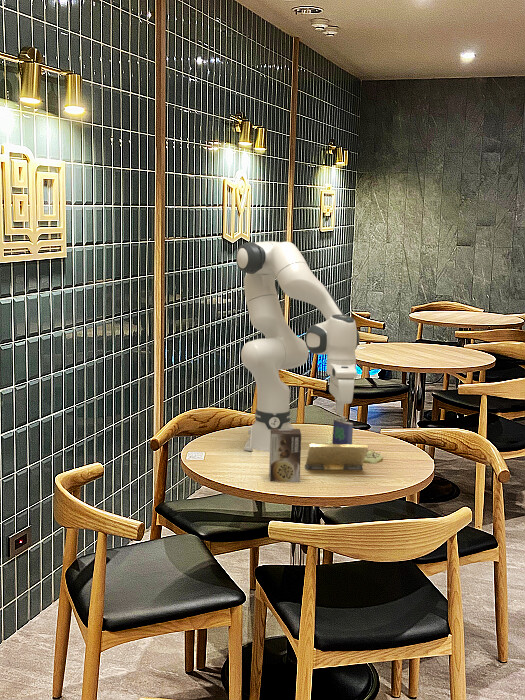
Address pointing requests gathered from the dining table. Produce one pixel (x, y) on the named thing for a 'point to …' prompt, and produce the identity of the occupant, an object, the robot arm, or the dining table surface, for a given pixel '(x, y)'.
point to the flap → (336, 455)
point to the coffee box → (285, 455)
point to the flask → (342, 431)
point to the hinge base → (321, 467)
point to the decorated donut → (372, 457)
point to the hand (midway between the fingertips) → (339, 412)
